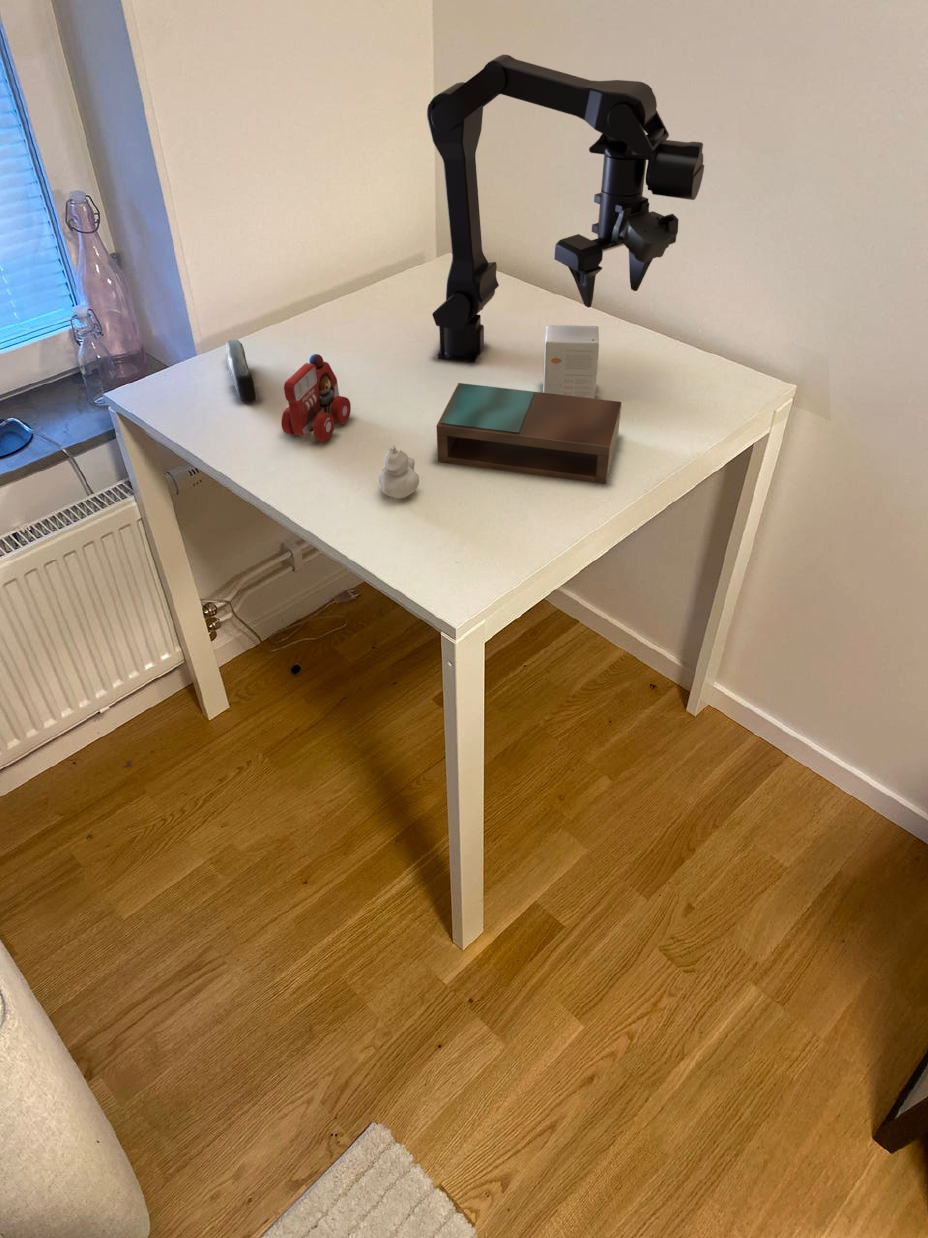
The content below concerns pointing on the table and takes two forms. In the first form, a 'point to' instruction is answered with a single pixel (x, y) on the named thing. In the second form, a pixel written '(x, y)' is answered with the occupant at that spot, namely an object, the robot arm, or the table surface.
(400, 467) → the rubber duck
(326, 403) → the toy fire truck
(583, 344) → the small box
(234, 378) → the mobile phone
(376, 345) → the table surface
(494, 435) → the shelf
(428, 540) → the table surface
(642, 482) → the table surface
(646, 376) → the table surface
